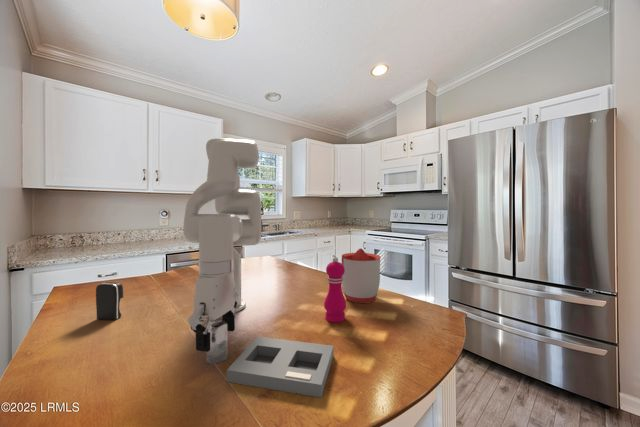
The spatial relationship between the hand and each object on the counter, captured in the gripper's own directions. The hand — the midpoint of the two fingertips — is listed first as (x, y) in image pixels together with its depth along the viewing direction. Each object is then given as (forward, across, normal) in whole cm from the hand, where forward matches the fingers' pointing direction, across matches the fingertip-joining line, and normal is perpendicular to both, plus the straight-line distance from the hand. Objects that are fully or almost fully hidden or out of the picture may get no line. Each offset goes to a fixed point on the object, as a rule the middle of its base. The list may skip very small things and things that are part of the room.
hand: (216, 339), depth 60 cm
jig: (+5, -1, +17) cm, 17 cm away
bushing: (+5, -1, 0) cm, 5 cm away
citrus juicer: (+4, -49, +30) cm, 57 cm away
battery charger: (+4, -13, -47) cm, 49 cm away
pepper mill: (+5, -29, +24) cm, 37 cm away
